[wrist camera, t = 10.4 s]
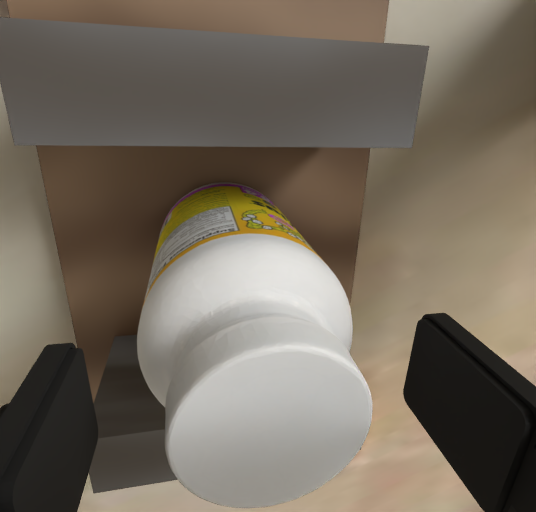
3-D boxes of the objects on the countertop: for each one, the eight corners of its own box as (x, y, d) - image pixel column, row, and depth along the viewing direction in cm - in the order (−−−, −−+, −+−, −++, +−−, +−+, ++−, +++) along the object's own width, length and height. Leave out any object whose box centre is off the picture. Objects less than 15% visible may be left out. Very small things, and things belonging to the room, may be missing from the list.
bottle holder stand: (331, 381, 27) (387, 491, 19) (99, 409, 24) (57, 555, 16) (376, -9, 18) (517, -93, 10) (12, -44, 15) (-178, -202, 7)
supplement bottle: (302, 260, 21) (444, 454, 9) (201, 314, 21) (217, 575, 9) (250, 154, 18) (360, 243, 7) (133, 217, 18) (35, 417, 7)
